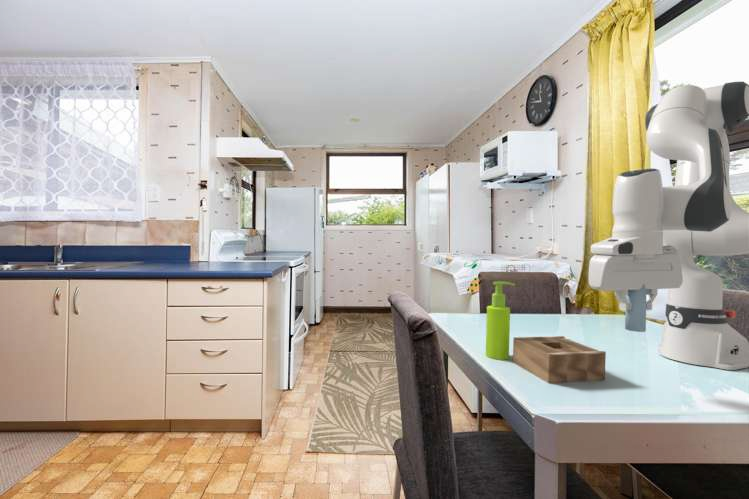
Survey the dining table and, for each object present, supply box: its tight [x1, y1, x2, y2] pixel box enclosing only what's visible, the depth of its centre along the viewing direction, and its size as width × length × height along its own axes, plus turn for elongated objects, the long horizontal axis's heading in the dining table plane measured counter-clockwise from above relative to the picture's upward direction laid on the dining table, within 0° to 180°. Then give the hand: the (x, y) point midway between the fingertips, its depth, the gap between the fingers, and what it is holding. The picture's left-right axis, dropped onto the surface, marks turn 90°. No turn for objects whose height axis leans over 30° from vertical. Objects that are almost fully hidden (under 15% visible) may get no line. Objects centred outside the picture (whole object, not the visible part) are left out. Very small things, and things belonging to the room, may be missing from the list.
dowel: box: [624, 284, 647, 333], centre depth 78 cm, size 4×4×10 cm
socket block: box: [512, 335, 607, 384], centre depth 87 cm, size 14×14×6 cm
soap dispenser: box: [485, 280, 516, 361], centre depth 97 cm, size 6×7×20 cm
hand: (635, 310), depth 78 cm, fingers closed on dowel, 4 cm apart
